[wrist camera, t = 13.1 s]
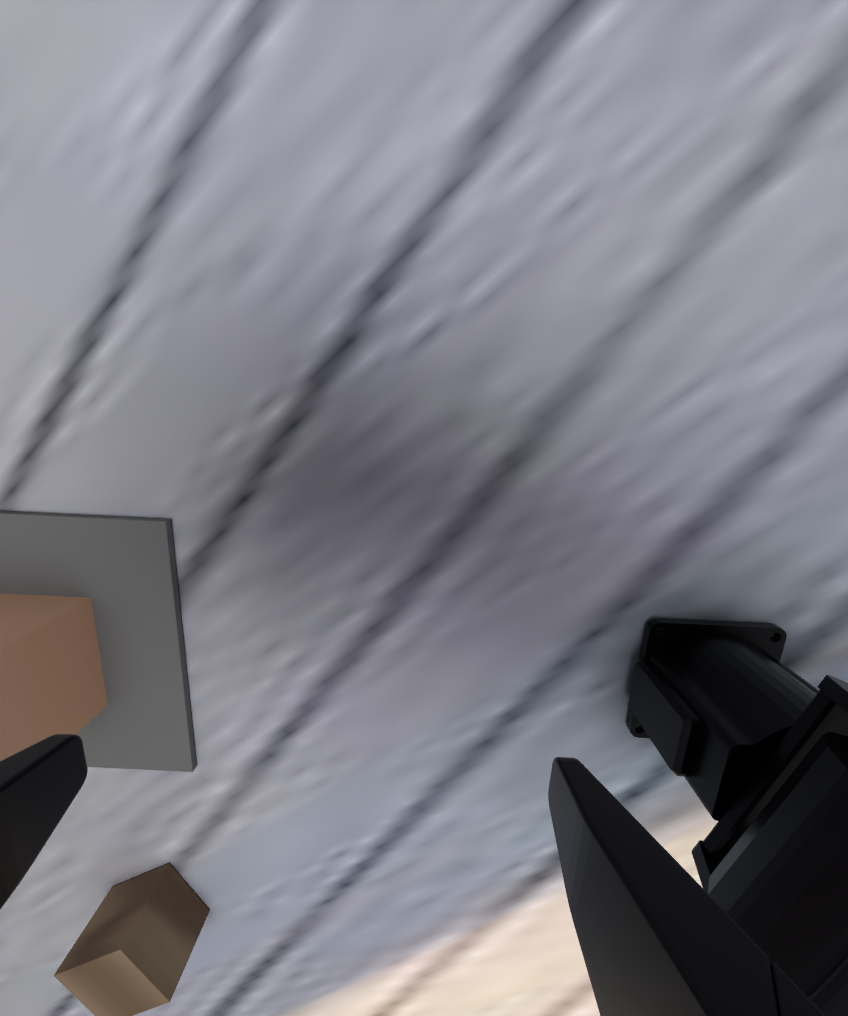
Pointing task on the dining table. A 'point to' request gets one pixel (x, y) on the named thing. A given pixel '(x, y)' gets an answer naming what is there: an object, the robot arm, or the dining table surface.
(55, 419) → the dining table surface
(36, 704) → the tan rectangular block
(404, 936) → the dining table surface
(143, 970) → the stub post
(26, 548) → the rubber mat
